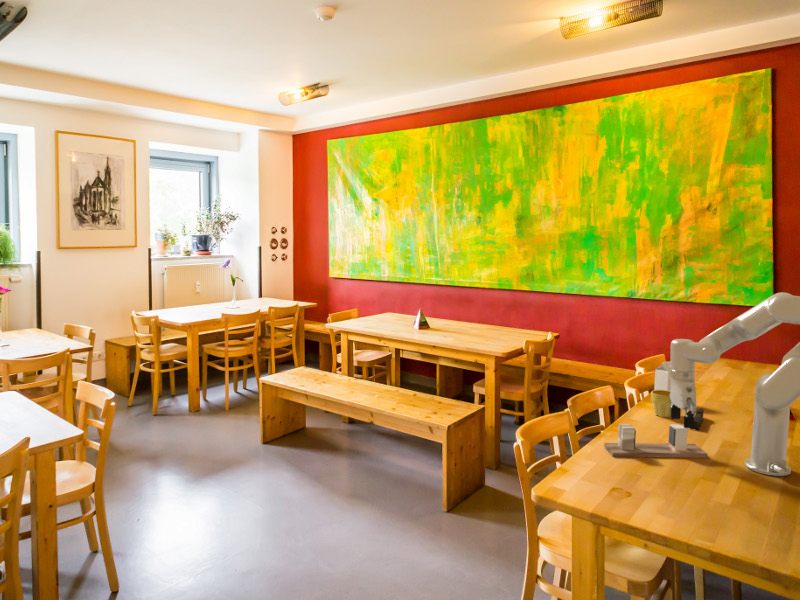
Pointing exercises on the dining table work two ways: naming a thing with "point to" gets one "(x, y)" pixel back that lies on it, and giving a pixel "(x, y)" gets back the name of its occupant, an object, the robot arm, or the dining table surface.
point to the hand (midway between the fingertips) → (682, 423)
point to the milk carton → (663, 377)
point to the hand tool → (698, 419)
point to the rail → (647, 447)
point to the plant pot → (661, 402)
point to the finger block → (678, 437)
